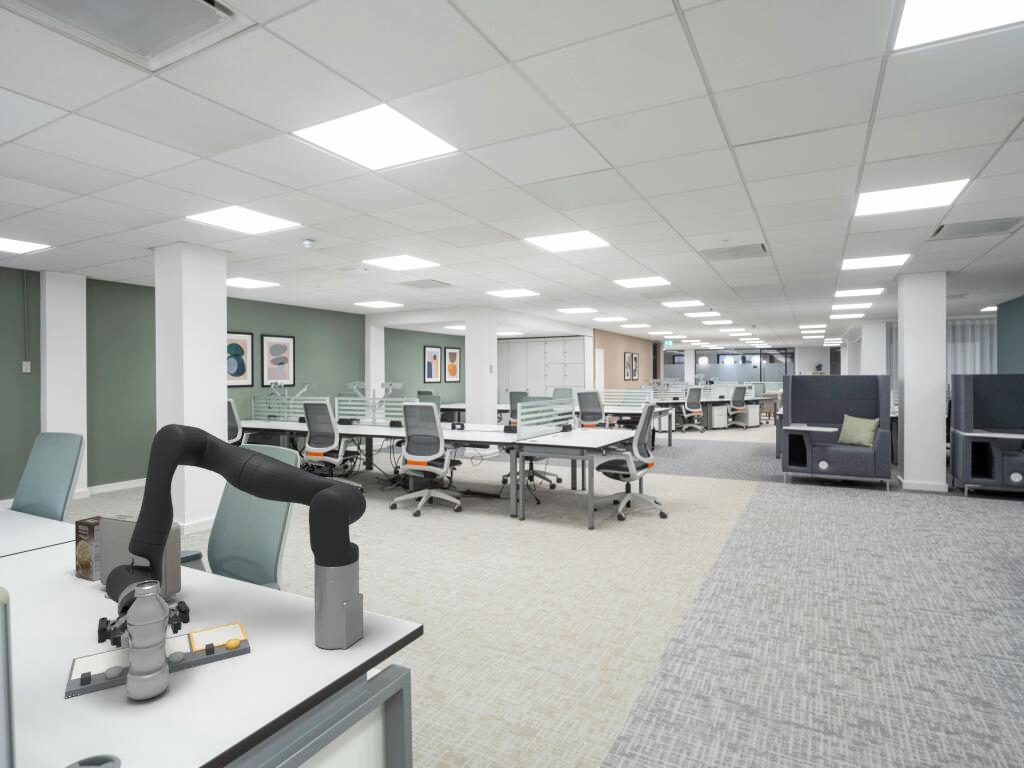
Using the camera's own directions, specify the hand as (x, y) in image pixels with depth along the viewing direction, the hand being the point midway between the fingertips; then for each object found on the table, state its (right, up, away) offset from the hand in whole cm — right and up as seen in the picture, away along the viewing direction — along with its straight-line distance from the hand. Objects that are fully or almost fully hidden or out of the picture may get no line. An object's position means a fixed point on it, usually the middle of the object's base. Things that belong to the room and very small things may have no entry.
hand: (148, 635), depth 100 cm
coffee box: (-54, -10, +61) cm, 82 cm away
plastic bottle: (0, -11, +1) cm, 11 cm away
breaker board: (-6, -11, +14) cm, 18 cm away
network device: (-32, -11, +46) cm, 57 cm away
